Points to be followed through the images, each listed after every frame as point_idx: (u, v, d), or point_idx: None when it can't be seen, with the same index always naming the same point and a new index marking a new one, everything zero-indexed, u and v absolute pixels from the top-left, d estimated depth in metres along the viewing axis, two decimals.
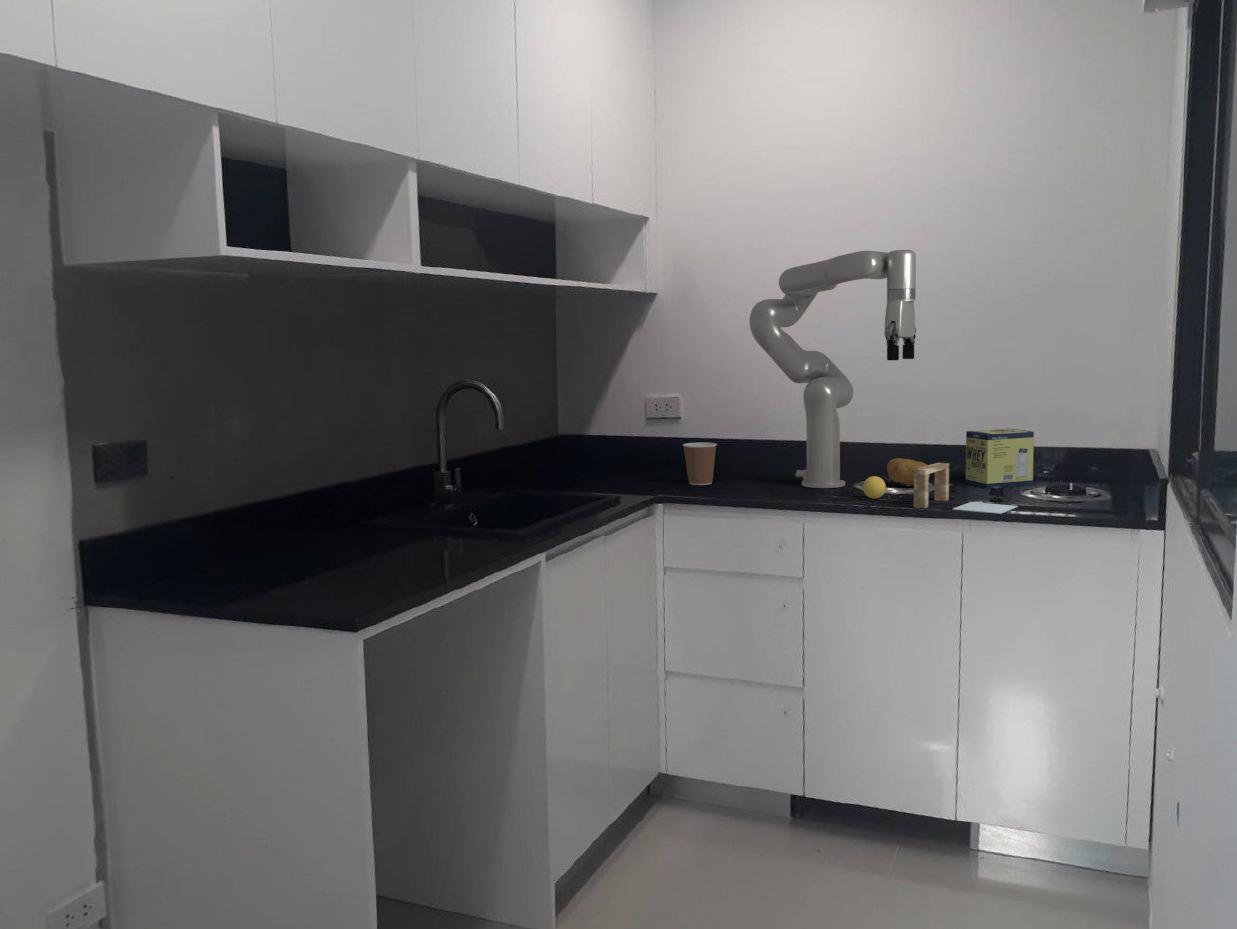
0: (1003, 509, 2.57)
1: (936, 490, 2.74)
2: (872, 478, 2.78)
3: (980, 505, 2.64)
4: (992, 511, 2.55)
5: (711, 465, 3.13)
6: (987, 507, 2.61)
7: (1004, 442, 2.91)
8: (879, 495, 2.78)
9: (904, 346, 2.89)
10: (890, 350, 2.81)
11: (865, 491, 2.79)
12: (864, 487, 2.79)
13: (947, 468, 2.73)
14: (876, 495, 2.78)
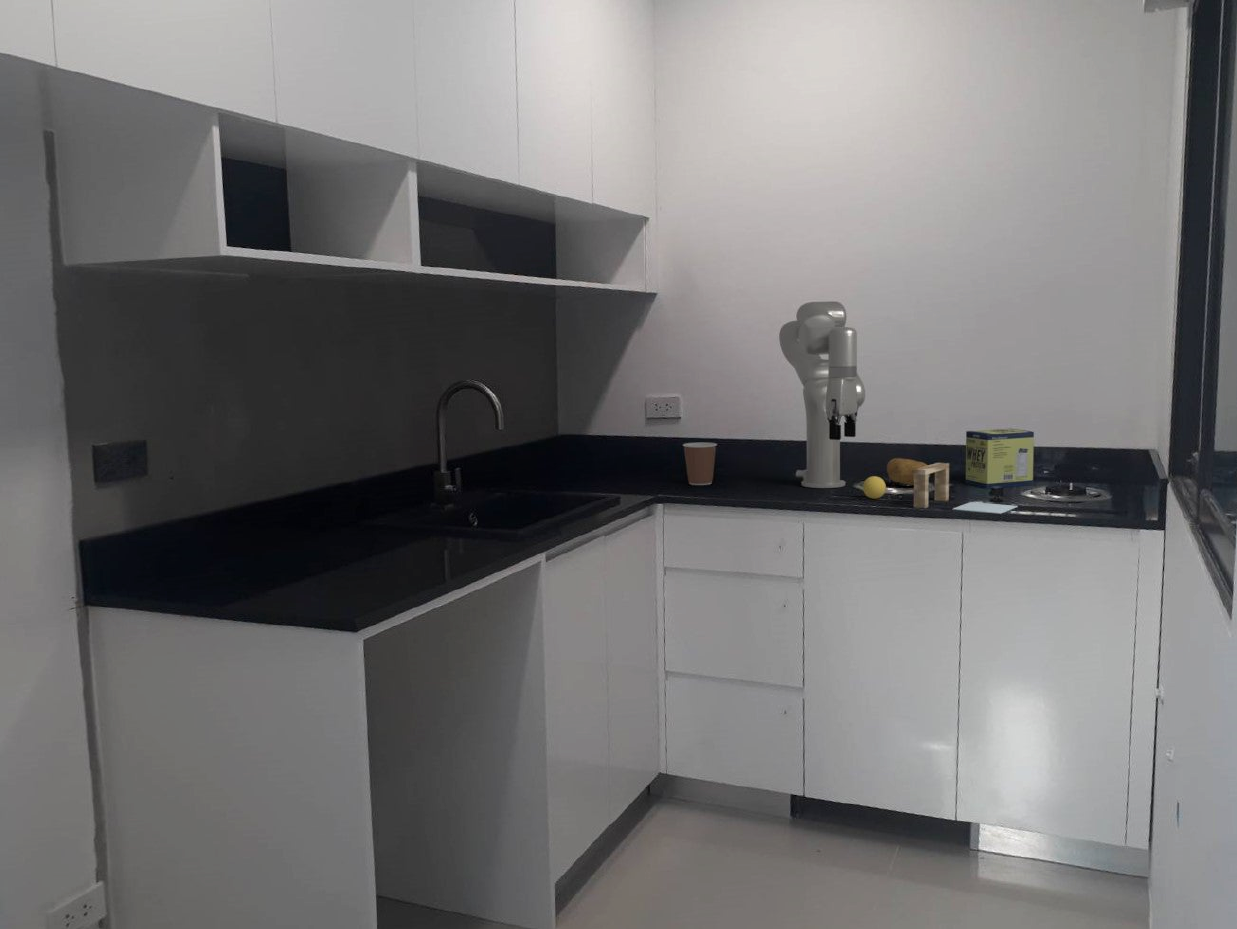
0: (1003, 509, 2.57)
1: (936, 490, 2.74)
2: (872, 478, 2.78)
3: (980, 505, 2.64)
4: (992, 511, 2.55)
5: (711, 465, 3.13)
6: (987, 507, 2.61)
7: (1004, 442, 2.91)
8: (879, 495, 2.78)
9: (846, 424, 2.87)
10: (832, 430, 2.80)
11: (865, 491, 2.79)
12: (864, 487, 2.79)
13: (947, 468, 2.73)
14: (876, 495, 2.78)
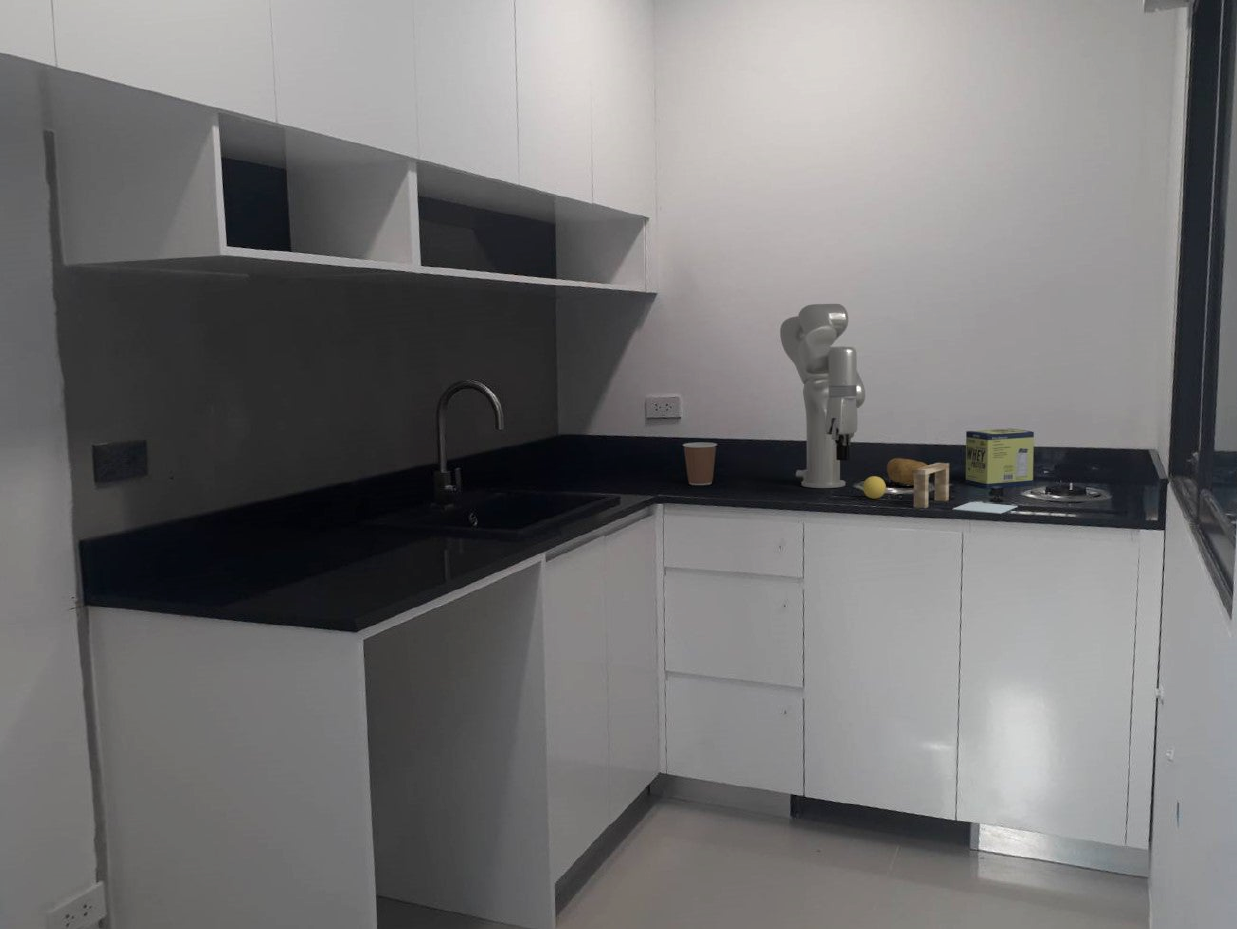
0: (1003, 509, 2.57)
1: (936, 490, 2.74)
2: (872, 478, 2.78)
3: (980, 505, 2.64)
4: (992, 511, 2.55)
5: (711, 465, 3.13)
6: (987, 507, 2.61)
7: (1004, 442, 2.91)
8: (879, 495, 2.78)
9: None
10: (839, 450, 2.83)
11: (865, 491, 2.79)
12: (864, 487, 2.79)
13: (947, 468, 2.73)
14: (876, 495, 2.78)
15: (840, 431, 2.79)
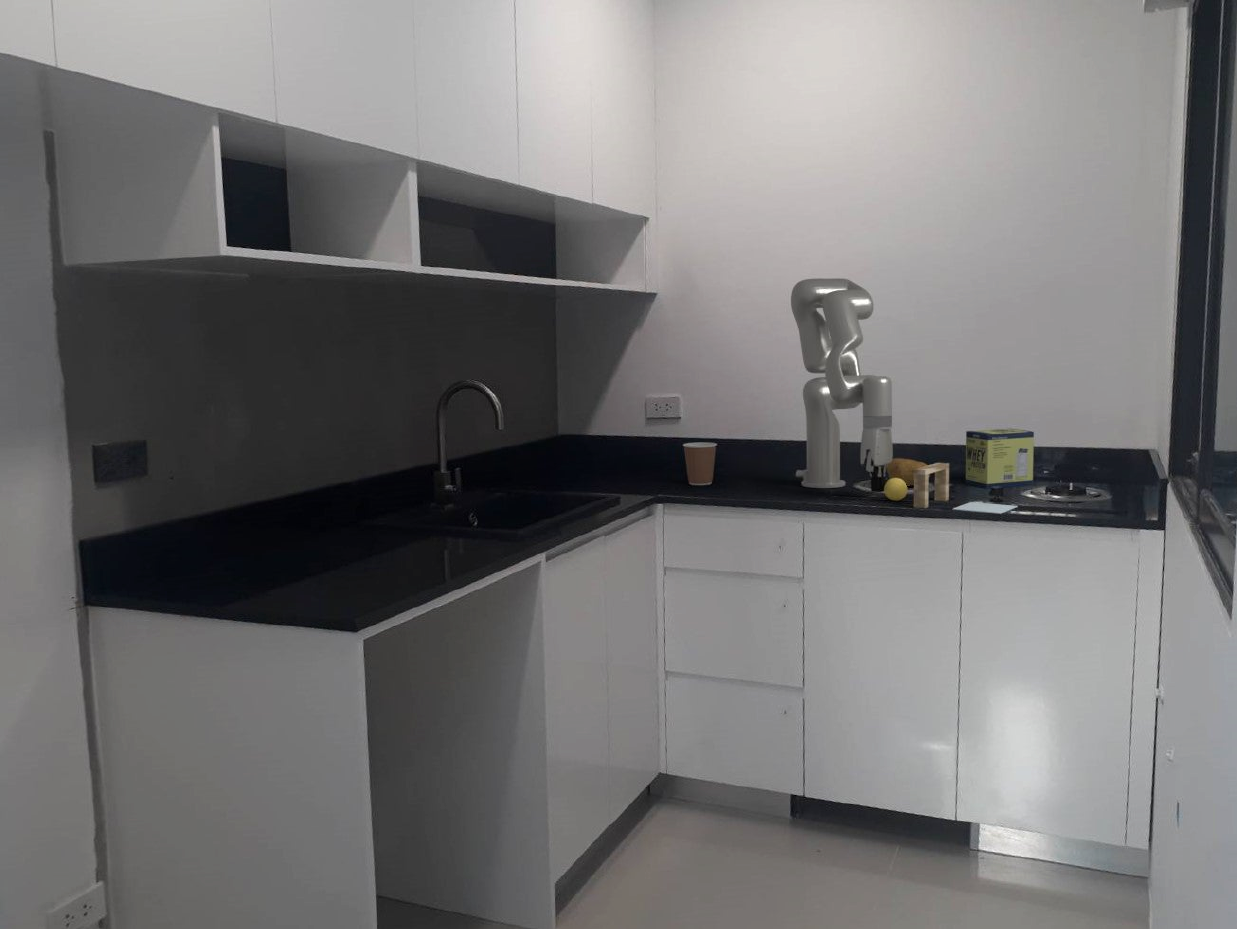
0: (1003, 509, 2.57)
1: (936, 490, 2.74)
2: (902, 493, 2.73)
3: (980, 505, 2.64)
4: (992, 511, 2.55)
5: (711, 465, 3.13)
6: (987, 507, 2.61)
7: (1004, 442, 2.91)
8: (885, 494, 2.77)
9: None
10: (874, 482, 2.77)
11: (889, 484, 2.74)
12: (893, 484, 2.73)
13: (947, 468, 2.73)
14: None
15: (875, 463, 2.73)
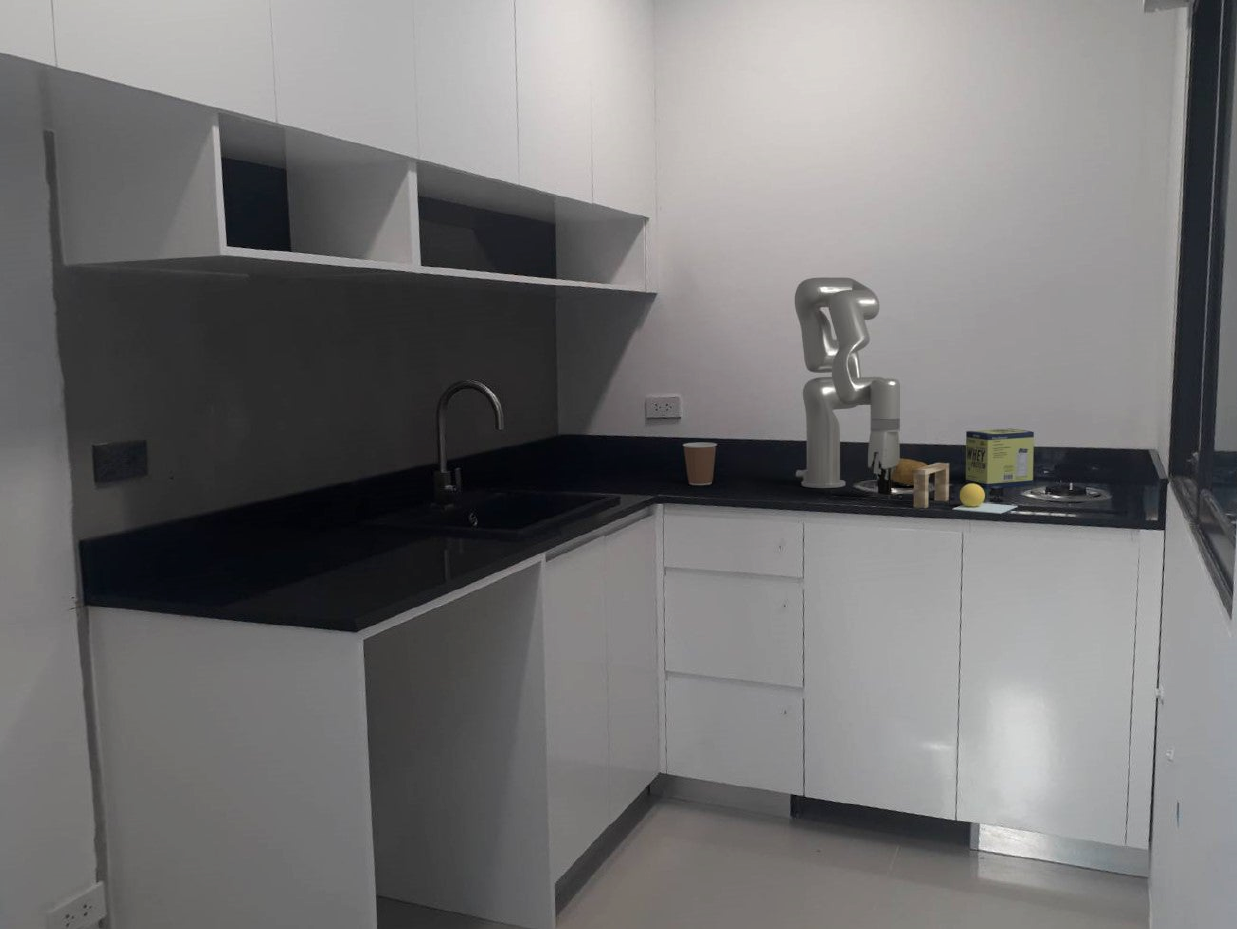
0: (1003, 509, 2.57)
1: (936, 490, 2.74)
2: (976, 504, 2.61)
3: (980, 505, 2.64)
4: (992, 511, 2.55)
5: (711, 465, 3.13)
6: (987, 507, 2.61)
7: (1004, 442, 2.91)
8: None
9: None
10: (881, 484, 2.77)
11: (970, 490, 2.60)
12: (973, 493, 2.60)
13: (947, 468, 2.73)
14: (960, 493, 2.62)
15: (883, 465, 2.72)
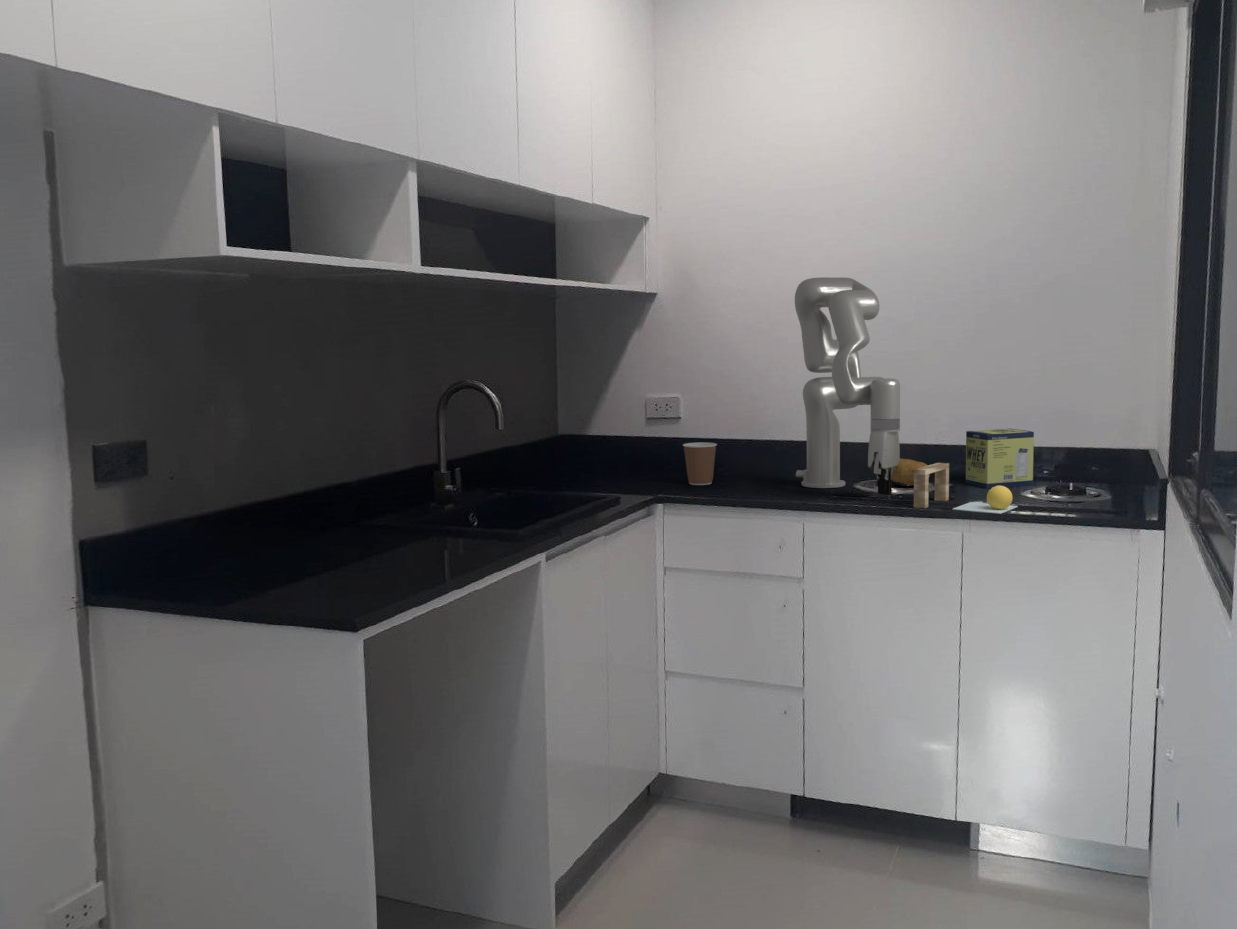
0: (1003, 509, 2.57)
1: (936, 490, 2.74)
2: None
3: (980, 505, 2.64)
4: (992, 511, 2.55)
5: (711, 465, 3.13)
6: (987, 507, 2.61)
7: (1004, 442, 2.91)
8: (1005, 490, 2.56)
9: None
10: (881, 484, 2.77)
11: (999, 504, 2.56)
12: (994, 505, 2.57)
13: (947, 468, 2.73)
14: (1004, 493, 2.55)
15: (883, 465, 2.72)
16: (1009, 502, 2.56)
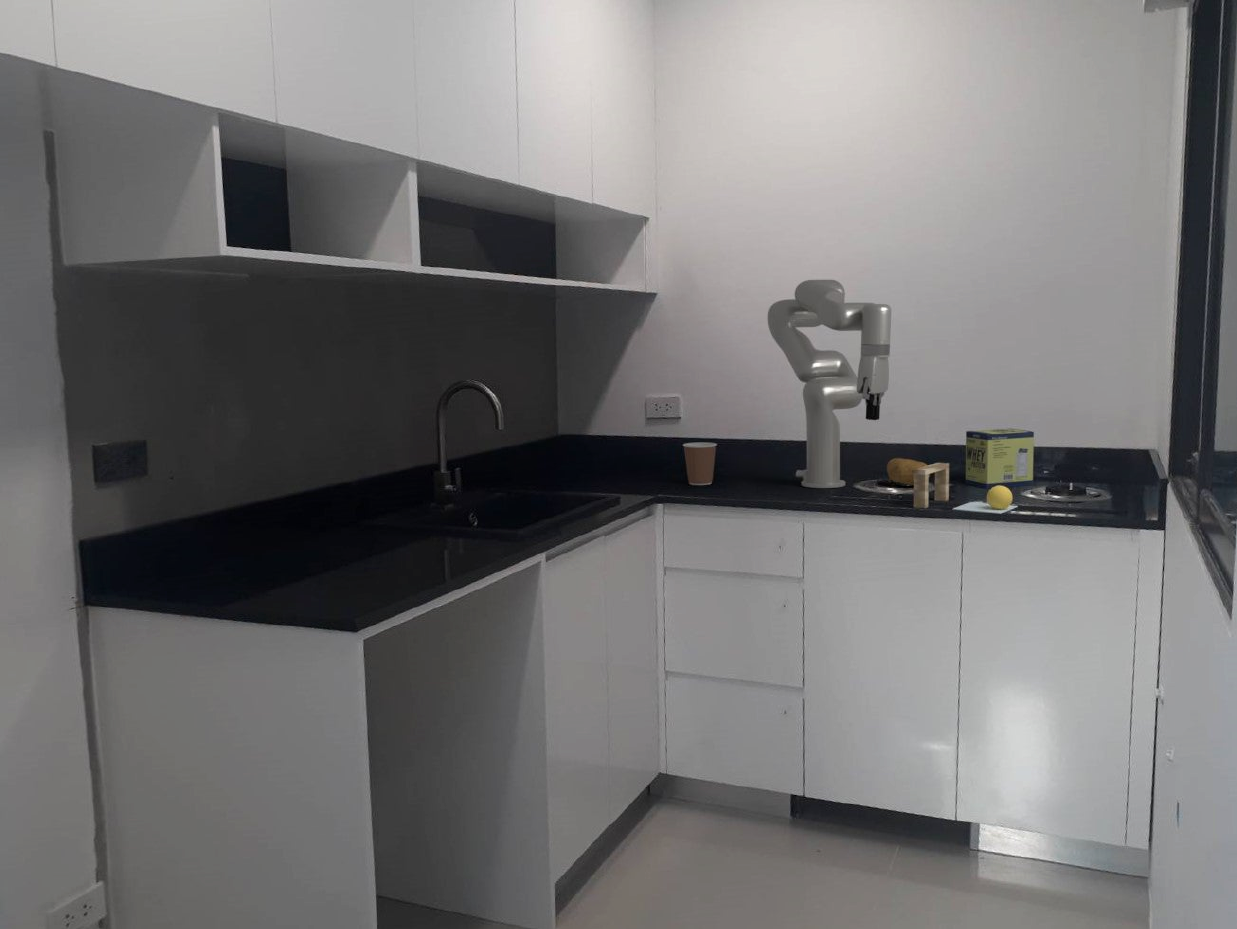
0: (1003, 509, 2.57)
1: (936, 490, 2.74)
2: None
3: (980, 505, 2.64)
4: (992, 511, 2.55)
5: (711, 465, 3.13)
6: (987, 507, 2.61)
7: (1004, 442, 2.91)
8: (1005, 490, 2.56)
9: None
10: (869, 410, 2.79)
11: (999, 504, 2.56)
12: (994, 505, 2.57)
13: (947, 468, 2.73)
14: (1004, 493, 2.55)
15: (871, 391, 2.74)
16: (1009, 502, 2.56)
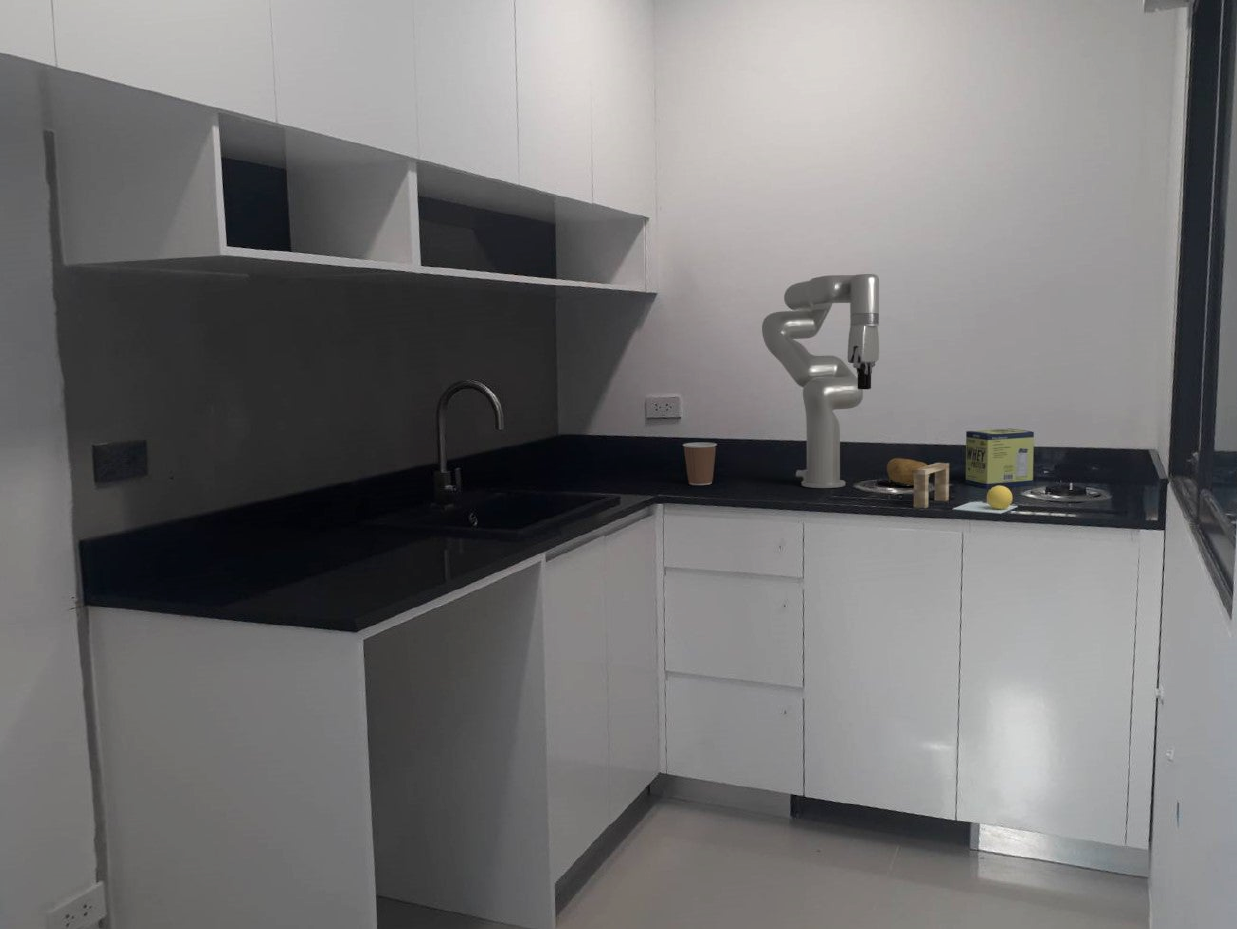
0: (1003, 509, 2.57)
1: (936, 490, 2.74)
2: None
3: (980, 505, 2.64)
4: (992, 511, 2.55)
5: (711, 465, 3.13)
6: (987, 507, 2.61)
7: (1004, 442, 2.91)
8: (1005, 490, 2.56)
9: None
10: (860, 379, 2.81)
11: (999, 504, 2.56)
12: (994, 505, 2.57)
13: (947, 468, 2.73)
14: (1004, 493, 2.55)
15: (862, 359, 2.77)
16: (1009, 502, 2.56)
